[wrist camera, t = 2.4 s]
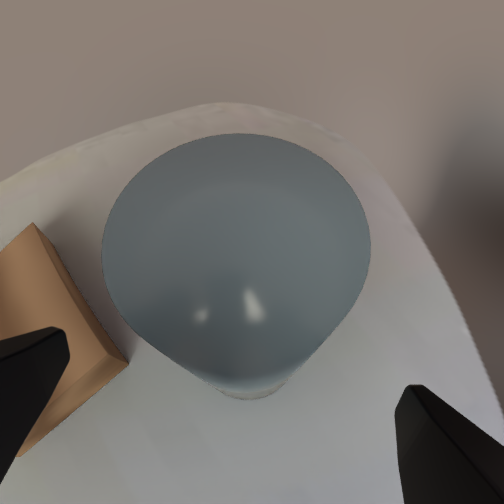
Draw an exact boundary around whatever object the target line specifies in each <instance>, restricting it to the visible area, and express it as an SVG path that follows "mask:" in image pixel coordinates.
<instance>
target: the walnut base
mask: <svg viewBox="0 0 504 504" xmlns="http://www.w3.org/2000/svg"><path fill="white" fill-rule="evenodd" d="M50 326H54V327H57V328H60V329H63V330H64V331H65V333H66V336H67V341H68V346H69V350H70V361H69V363H68V365H67V367H66V369H65V371H64V373H63V375H62V377H61V379H60V381H59V383H58V384H57V386H56V388H55V390H54V392H53V394H52V396H51V398H50V400H49V402H48V404H47V405H46V407H45V409H44V410H43V412H42V413H41V415H40V417H39V418H38V420H37V421H36V423H35V425H34V426H33V428H32V430H31V431H30V433H29V435H28V436H27V438H26V440H25V441H24V443H23V445H22V446H21V448H20V450H19V452H18V453H17V455H16V457H21V456H22V455H23V454H24V453H25V452H26V451H28V450H29V449H30V448H31V447H32V446H34V445H35V444H36V443H37V442H38V441H40V440H41V439H42V438H43V437H44V436H45V435H47V434H48V433H49V432H50V431H51V430H53V429H54V428H55V427H56V426H57V425H58V424H60V423H61V422H62V421H63V420H64V419H66V418H67V417H68V416H69V415H70V414H71V413H73V412H74V411H75V410H76V409H77V408H78V407H80V406H81V405H82V404H83V403H84V402H86V401H87V400H88V399H89V398H90V397H91V396H93V395H94V394H95V393H96V392H97V391H98V390H100V389H101V388H102V387H103V386H104V385H105V384H107V383H108V382H109V381H110V380H111V379H113V378H114V377H115V376H116V375H117V374H118V373H120V372H121V371H122V370H123V369H124V368H125V367H127V366H128V365H129V363H128V362H127V361H126V359H125V358H124V357H123V355H122V354H121V353H120V351H119V350H118V349H117V347H116V346H115V344H114V343H113V342H112V340H111V339H110V337H109V336H108V334H107V333H106V332H105V330H104V329H103V327H102V326H101V324H100V323H99V321H98V320H97V318H96V317H95V315H94V314H93V312H92V311H91V309H90V307H89V306H88V304H87V303H86V301H85V299H84V298H83V296H82V295H81V293H80V291H79V290H78V288H77V286H76V285H75V283H74V281H73V280H72V278H71V276H70V275H69V273H68V271H67V269H66V268H65V266H64V264H63V262H62V260H61V259H60V257H59V255H58V253H57V251H56V249H55V248H54V246H53V244H52V243H51V242H50V241H49V240H48V239H47V238H46V236H45V235H44V234H43V233H42V232H41V231H40V230H39V229H38V228H37V227H36V225H35V224H34V223H33V222H32V223H31V224H30V225H29V226H28V227H27V228H26V229H24V230H23V231H22V232H21V233H20V234H19V235H18V236H17V237H16V238H15V239H14V240H12V241H11V242H10V243H9V244H8V245H7V246H6V247H5V248H4V249H3V250H2V251H1V252H0V340H3V339H7V338H10V337H14V336H17V335H21V334H25V333H28V332H32V331H35V330H39V329H43V328H46V327H50Z"/></svg>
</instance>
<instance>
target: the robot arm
mask: <svg viewBox="0 0 504 504" xmlns="http://www.w3.org/2000/svg"><path fill="white" fill-rule="evenodd" d="M69 361H70V350H69V346H68V341H67V336H66V333H65V331H64V330H63V329H60V328H57V327H54V326H50V327H46V328H43V329H39V330H35V331H32V332H28V333H25V334H21V335H17V336H14V337H10V338H7V339H3V340H0V484H1V482H2V480H3V479H4V477H5V475H6V473H7V471H8V469H9V468H10V466H11V464H12V462H13V460H14V459H15V457H16V455H17V453H18V452H19V450H20V448H21V446H22V445H23V443H24V441H25V440H26V438H27V436H28V435H29V433H30V431H31V430H32V428H33V426H34V425H35V423H36V421H37V420H38V418H39V417H40V415H41V413H42V412H43V410H44V409H45V407H46V405H47V404H48V402H49V400H50V398H51V396H52V394H53V392H54V390H55V388H56V386H57V384H58V383H59V381H60V379H61V377H62V375H63V373H64V371H65V369H66V367H67V365H68V363H69ZM395 427H396V440H397V455H398V466H399V473H400V479H401V485H402V492H403V498H404V504H504V446H503V445H501V444H500V443H499V442H497V441H496V440H495V439H493V438H492V437H491V436H489V435H488V434H487V433H485V432H484V431H483V430H481V429H480V428H479V427H477V426H476V425H475V424H474V423H472V422H471V421H470V420H468V419H467V418H466V417H464V416H463V415H462V414H460V413H459V412H458V411H456V410H455V409H454V408H452V407H451V406H450V405H449V404H447V403H446V402H445V401H443V400H442V399H441V398H439V397H438V396H437V395H435V394H434V393H433V392H431V391H430V390H429V389H428V388H426V387H425V386H423V385H408V386H407V387H406V388H405V390H404V392H403V394H402V396H401V398H400V400H399V403H398V405H397V407H396V409H395Z"/></svg>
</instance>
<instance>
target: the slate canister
mask: <svg viewBox="0 0 504 504" xmlns="http://www.w3.org/2000/svg"><path fill="white" fill-rule="evenodd" d="M370 246H371V242H370V234H369V227H368V223H367V219H366V216H365V212H364V210H363V208H362V206H361V203H360V201H359V199H358V197H357V196H356V194H355V192H354V191H353V189H352V188H351V186H350V185H349V184H348V183H347V181H346V180H345V179H344V178H343V176H342V175H341V174H340V173H339V172H338V171H337V170H335V169H334V168H333V167H332V166H331V165H330V164H329V163H327V162H326V161H325V160H323V159H322V158H321V157H319V156H317V155H316V154H314V153H312V152H311V151H309V150H307V149H305V148H303V147H301V146H298V145H296V144H294V143H291V142H288V141H285V140H282V139H278V138H274V137H270V136H264V135H256V134H223V135H216V136H210V137H206V138H202V139H198V140H194V141H191V142H189V143H186V144H183V145H180V146H178V147H176V148H174V149H172V150H170V151H168V152H166V153H165V154H163V155H161V156H159V157H158V158H156V159H155V160H153V161H152V162H151V163H149V164H148V165H147V166H145V167H144V168H143V169H142V170H141V171H140V172H139V173H138V174H137V175H136V176H135V177H134V178H133V179H132V180H131V181H130V182H129V183H128V185H127V186H126V187H125V188H124V190H123V191H122V193H121V194H120V196H119V197H118V199H117V200H116V202H115V204H114V206H113V208H112V210H111V212H110V214H109V217H108V220H107V223H106V226H105V230H104V235H103V240H102V252H101V259H102V270H103V275H104V279H105V283H106V287H107V290H108V292H109V294H110V297H111V299H112V301H113V303H114V305H115V307H116V308H117V310H118V311H119V313H120V315H121V316H122V318H123V319H124V320H125V321H126V322H127V323H128V325H129V326H130V327H131V328H132V329H133V330H134V331H135V332H136V333H137V334H138V335H139V336H141V337H142V338H143V339H144V340H145V341H147V342H148V343H149V344H150V345H152V346H153V347H155V348H156V349H157V350H159V351H160V352H161V353H163V354H164V355H166V356H167V357H169V358H170V359H171V360H173V361H174V362H176V363H177V364H179V365H180V366H182V367H183V368H185V369H186V370H188V371H189V372H191V373H192V374H194V375H195V376H197V377H198V378H200V379H201V380H203V381H204V382H206V383H207V384H209V385H211V386H212V387H214V388H215V389H217V390H219V391H220V392H222V393H224V394H226V395H227V396H230V397H233V398H236V399H241V400H254V399H260V398H263V397H266V396H268V395H270V394H272V393H274V392H275V391H277V390H278V389H279V388H280V387H282V386H283V385H284V384H285V383H286V382H287V381H288V379H289V378H290V377H291V376H292V375H293V374H294V373H295V372H296V371H297V370H298V369H299V368H300V367H301V366H302V365H303V364H304V363H305V362H306V361H307V359H308V358H309V357H310V356H311V355H312V354H313V353H314V352H315V351H316V350H317V349H318V347H319V346H320V345H321V344H322V343H323V342H324V341H325V340H326V339H327V337H328V336H329V335H330V334H331V333H332V332H333V331H334V329H335V328H336V327H337V326H338V325H339V324H340V322H341V321H342V320H343V319H344V317H345V316H346V315H347V313H348V312H349V311H350V309H351V308H352V307H353V305H354V303H355V302H356V300H357V298H358V296H359V294H360V292H361V290H362V288H363V285H364V282H365V279H366V276H367V273H368V267H369V262H370Z"/></svg>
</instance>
